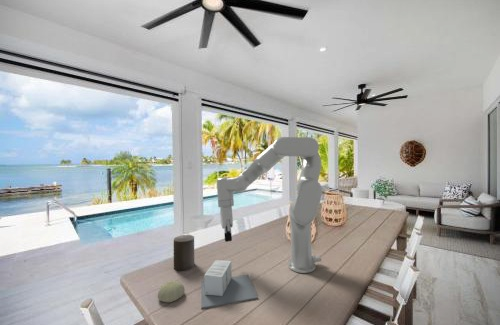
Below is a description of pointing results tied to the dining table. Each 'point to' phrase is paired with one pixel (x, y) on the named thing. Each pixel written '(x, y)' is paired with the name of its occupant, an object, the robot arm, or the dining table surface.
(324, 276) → the dining table surface
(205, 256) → the dining table surface
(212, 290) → the supplement box
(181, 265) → the pillar candle
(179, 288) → the sea urchin shell
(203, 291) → the charcoal mat
